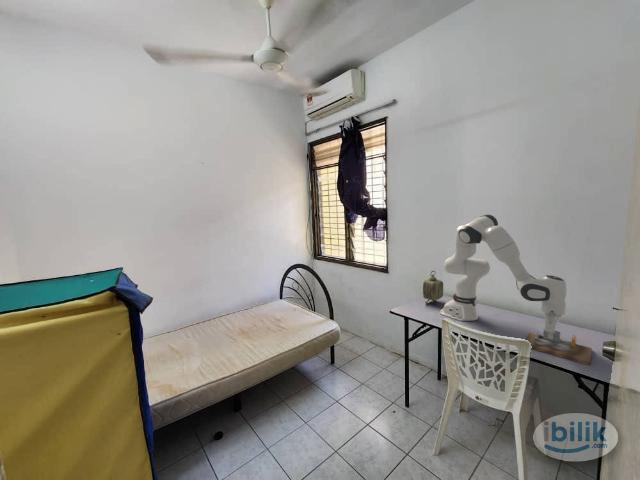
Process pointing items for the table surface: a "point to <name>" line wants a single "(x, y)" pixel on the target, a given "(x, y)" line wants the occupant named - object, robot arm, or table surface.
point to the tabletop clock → (432, 289)
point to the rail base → (561, 348)
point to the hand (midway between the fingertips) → (551, 334)
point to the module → (555, 337)
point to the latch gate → (573, 341)
